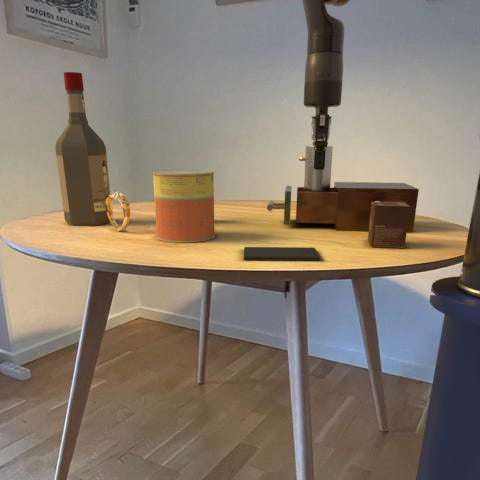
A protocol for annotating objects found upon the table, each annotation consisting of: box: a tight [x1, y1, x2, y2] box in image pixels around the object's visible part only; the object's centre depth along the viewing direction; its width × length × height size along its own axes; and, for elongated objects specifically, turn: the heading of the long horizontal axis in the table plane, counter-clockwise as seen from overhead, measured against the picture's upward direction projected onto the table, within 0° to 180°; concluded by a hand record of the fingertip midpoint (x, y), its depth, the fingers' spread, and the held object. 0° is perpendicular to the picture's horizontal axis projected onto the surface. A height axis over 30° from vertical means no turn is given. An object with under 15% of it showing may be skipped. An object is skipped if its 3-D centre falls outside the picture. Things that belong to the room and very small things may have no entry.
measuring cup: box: [298, 145, 334, 192], centre depth 100 cm, size 7×6×9 cm
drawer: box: [266, 185, 339, 225], centre depth 103 cm, size 18×12×7 cm
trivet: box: [243, 246, 321, 262], centre depth 76 cm, size 12×7×1 cm, turn 89°
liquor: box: [54, 71, 111, 227], centre depth 100 cm, size 9×9×30 cm
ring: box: [105, 190, 131, 232], centre depth 94 cm, size 7×3×8 cm, turn 41°
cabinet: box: [332, 181, 420, 233], centre depth 101 cm, size 16×14×9 cm
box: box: [367, 201, 410, 249], centre depth 83 cm, size 6×6×7 cm
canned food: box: [152, 169, 216, 244], centre depth 89 cm, size 11×11×12 cm
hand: (318, 168), depth 100 cm, fingers closed on measuring cup, 5 cm apart
